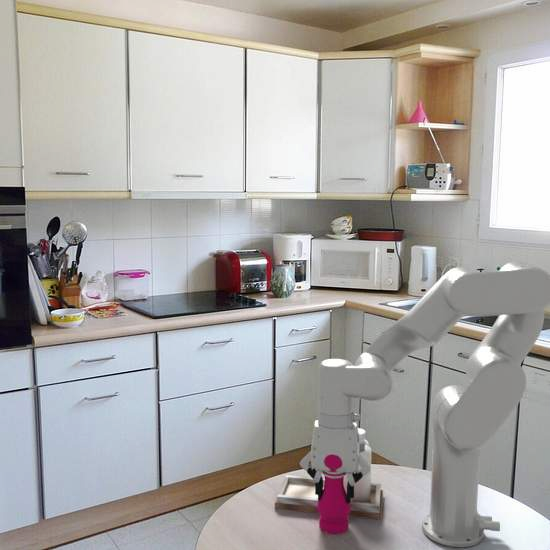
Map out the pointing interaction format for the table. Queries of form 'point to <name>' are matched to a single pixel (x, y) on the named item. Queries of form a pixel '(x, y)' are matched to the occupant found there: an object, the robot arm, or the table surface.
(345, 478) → the salt shaker
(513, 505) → the table surface
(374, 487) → the rail
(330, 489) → the pepper mill
